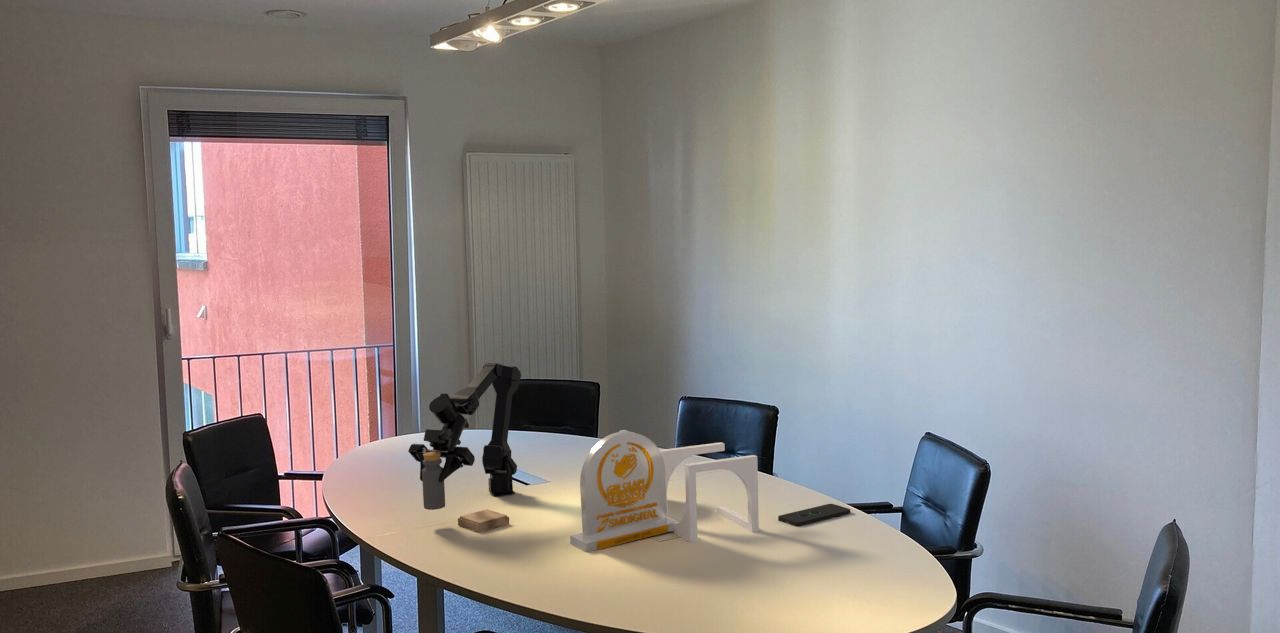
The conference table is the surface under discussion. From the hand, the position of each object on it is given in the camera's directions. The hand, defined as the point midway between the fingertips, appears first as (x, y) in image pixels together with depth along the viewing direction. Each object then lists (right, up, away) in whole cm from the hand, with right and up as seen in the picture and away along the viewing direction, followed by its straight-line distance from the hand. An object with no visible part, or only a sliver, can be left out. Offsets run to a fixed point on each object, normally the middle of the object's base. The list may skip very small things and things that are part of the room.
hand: (430, 481), depth 273 cm
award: (+54, -13, -13) cm, 57 cm away
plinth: (+14, -12, +2) cm, 19 cm away
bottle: (+1, -8, +2) cm, 8 cm away
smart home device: (+105, -10, 0) cm, 106 cm away
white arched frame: (+75, -12, -6) cm, 77 cm away
